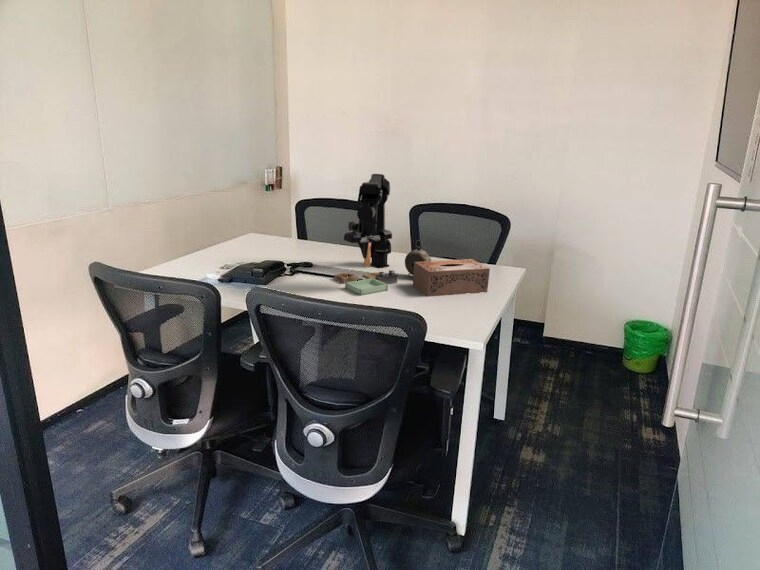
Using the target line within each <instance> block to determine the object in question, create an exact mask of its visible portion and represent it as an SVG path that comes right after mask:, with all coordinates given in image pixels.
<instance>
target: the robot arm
mask: <svg viewBox="0 0 760 570" xmlns="http://www.w3.org/2000/svg"><path fill="white" fill-rule="evenodd" d="M358 191H359V192H358V197H357V203H360V204H361V206H360V207H359V208H358V209H357V213H356V216H357V219H358V223H356V222H355V221H349V222H348V226H347V227H348V231H349V232H345V234H344V235H343V241H346V242H349V243H351V244H358V247H359V249H360V252H361V256H362V258H363V260H364V259H366V256H367V250H368V244H369V242H371V260H370V266H373V267H375V268H385V267H389V266H390V264H388V255H389V254H391V253H392V243H391V241H390V240H392V239H393V233H392V231H391V230H388V229H386V224H385V223H386V214H385V212H386V202H387V201H388V197H389V196H390V195H391V194H390V193H391V183H390V181H389V180H388V179H387V178H385V175H384V174H382V173H372V174H371V176H370V179H369V180H368V181H367V182H366V181H365V182H362V183H361V185H360V186H359V190H358Z"/></svg>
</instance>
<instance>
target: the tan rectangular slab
mask: <svg viewBox="0 0 760 570" xmlns="http://www.w3.org/2000/svg"><path fill="white" fill-rule="evenodd" d="M379 272H380V271H379ZM379 272H378V271H377V272H371V273H363V274H362V275H361V276H362V277H364V278H366V279H370V278H374V279H375V275H379ZM383 272H384V273H385V274H387V272H385V271H383ZM362 277H361V278H362Z"/></svg>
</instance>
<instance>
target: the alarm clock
mask: <svg viewBox="0 0 760 570" xmlns="http://www.w3.org/2000/svg"><path fill="white" fill-rule="evenodd" d="M418 242H420V243H421V246H417V243H418ZM423 245H424V244H423V241H422V240H420V239H418V240H416V241H415V247H416V249H414V250H412V251H410V252H408V253H407V254H406V256H405V258H404V267H405V269H406V270H407V272H408V274H407V275H408V276H410V275H412V276H413V275H414V262H422V261H432V259H431V256H430V254H429V253H428V252H427V251H426V250H424V249H421V248H422V247H423Z"/></svg>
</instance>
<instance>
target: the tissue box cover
mask: <svg viewBox="0 0 760 570" xmlns="http://www.w3.org/2000/svg"><path fill="white" fill-rule="evenodd" d="M489 280H490V267H487V266H486V265H484V264H482V263H480V262H478V261H476V260H474V259H472V258H470V259H449V260H448V259H447V260H431V261H422V262H414V275H412V286H413V287H414V288H415V289H417V290H418V291H419V292H421V293H423V294H424V295H425V296H426V297H437V296H438V297H439V296H451V295H453V296H454V295H455V294H456V295H466V293H470V294H481V293H480V292H484V293H488V288H489Z"/></svg>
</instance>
